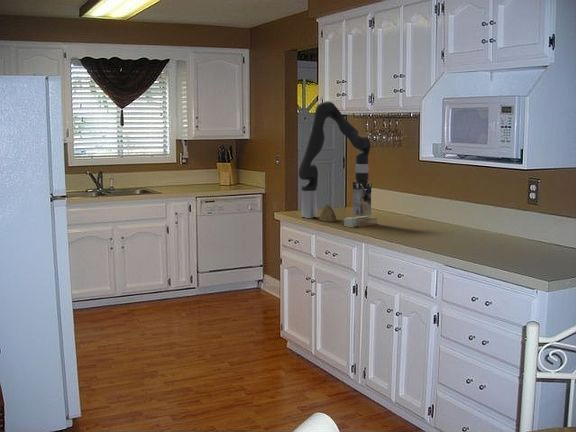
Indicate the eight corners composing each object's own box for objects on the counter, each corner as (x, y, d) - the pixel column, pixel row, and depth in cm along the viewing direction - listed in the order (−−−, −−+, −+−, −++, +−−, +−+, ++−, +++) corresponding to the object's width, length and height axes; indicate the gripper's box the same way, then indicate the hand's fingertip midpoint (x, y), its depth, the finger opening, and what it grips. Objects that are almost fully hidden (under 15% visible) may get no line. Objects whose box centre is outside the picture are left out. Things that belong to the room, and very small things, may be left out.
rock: (341, 217, 401) (334, 213, 410) (333, 207, 398) (327, 203, 407) (327, 229, 400) (321, 224, 409) (319, 218, 397) (313, 214, 406)
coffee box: (363, 213, 395) (363, 186, 392) (371, 214, 390) (371, 187, 388) (352, 215, 389) (352, 188, 387) (360, 216, 384) (360, 188, 382)
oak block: (347, 224, 391) (347, 218, 391) (362, 222, 399) (362, 215, 398) (361, 227, 382) (361, 220, 381) (376, 224, 389) (376, 218, 388)
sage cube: (344, 226, 382) (344, 218, 381) (349, 225, 386) (349, 217, 385) (351, 227, 379) (351, 219, 378) (356, 226, 382) (356, 217, 382)
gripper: (348, 171, 389) (348, 199, 392) (365, 172, 378) (365, 202, 380) (358, 170, 394) (358, 198, 396) (375, 172, 382) (375, 200, 385)
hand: (362, 200), depth 388 cm, fingers closed on coffee box, 6 cm apart
